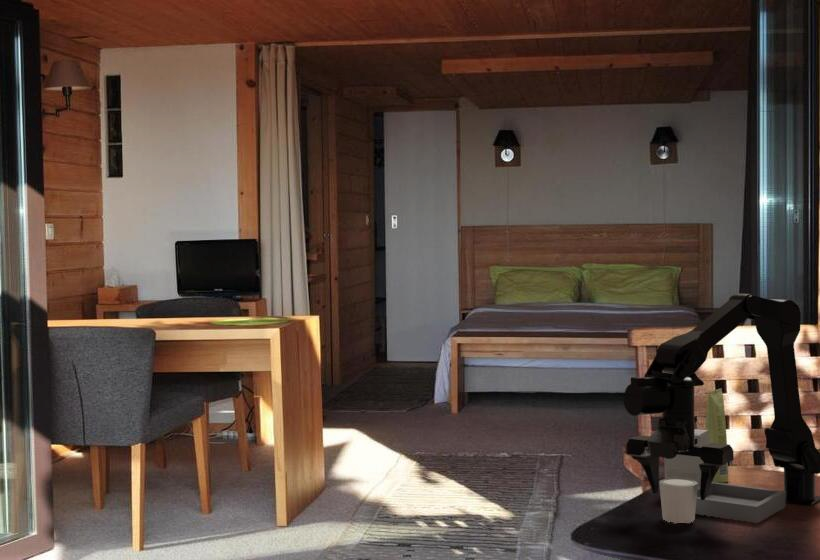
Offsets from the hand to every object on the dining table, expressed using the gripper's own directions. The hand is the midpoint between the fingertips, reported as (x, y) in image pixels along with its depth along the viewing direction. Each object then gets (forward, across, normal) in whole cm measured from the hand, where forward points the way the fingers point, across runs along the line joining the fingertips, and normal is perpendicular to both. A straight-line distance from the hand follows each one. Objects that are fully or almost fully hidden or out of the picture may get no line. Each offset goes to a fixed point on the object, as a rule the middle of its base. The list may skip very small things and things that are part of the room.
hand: (678, 496), depth 193 cm
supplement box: (+4, -8, +21) cm, 23 cm away
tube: (+4, -7, +35) cm, 36 cm away
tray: (+4, +5, +13) cm, 14 cm away
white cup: (+4, 0, 0) cm, 5 cm away
